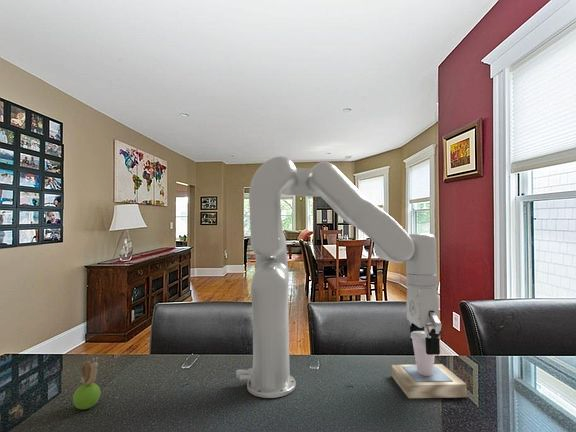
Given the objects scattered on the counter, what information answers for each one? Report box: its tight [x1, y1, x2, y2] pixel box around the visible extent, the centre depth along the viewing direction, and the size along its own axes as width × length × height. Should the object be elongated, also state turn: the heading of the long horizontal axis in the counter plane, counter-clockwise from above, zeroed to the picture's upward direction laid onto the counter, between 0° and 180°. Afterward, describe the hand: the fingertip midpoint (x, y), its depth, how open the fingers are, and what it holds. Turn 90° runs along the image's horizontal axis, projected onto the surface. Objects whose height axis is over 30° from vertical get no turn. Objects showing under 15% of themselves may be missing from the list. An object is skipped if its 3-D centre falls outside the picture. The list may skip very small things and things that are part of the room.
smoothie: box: [411, 328, 436, 376], centre depth 82 cm, size 6×6×14 cm
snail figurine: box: [72, 356, 101, 410], centre depth 73 cm, size 5×6×12 cm
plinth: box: [391, 363, 468, 399], centre depth 81 cm, size 14×12×3 cm
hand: (424, 347), depth 81 cm, fingers open, 9 cm apart
